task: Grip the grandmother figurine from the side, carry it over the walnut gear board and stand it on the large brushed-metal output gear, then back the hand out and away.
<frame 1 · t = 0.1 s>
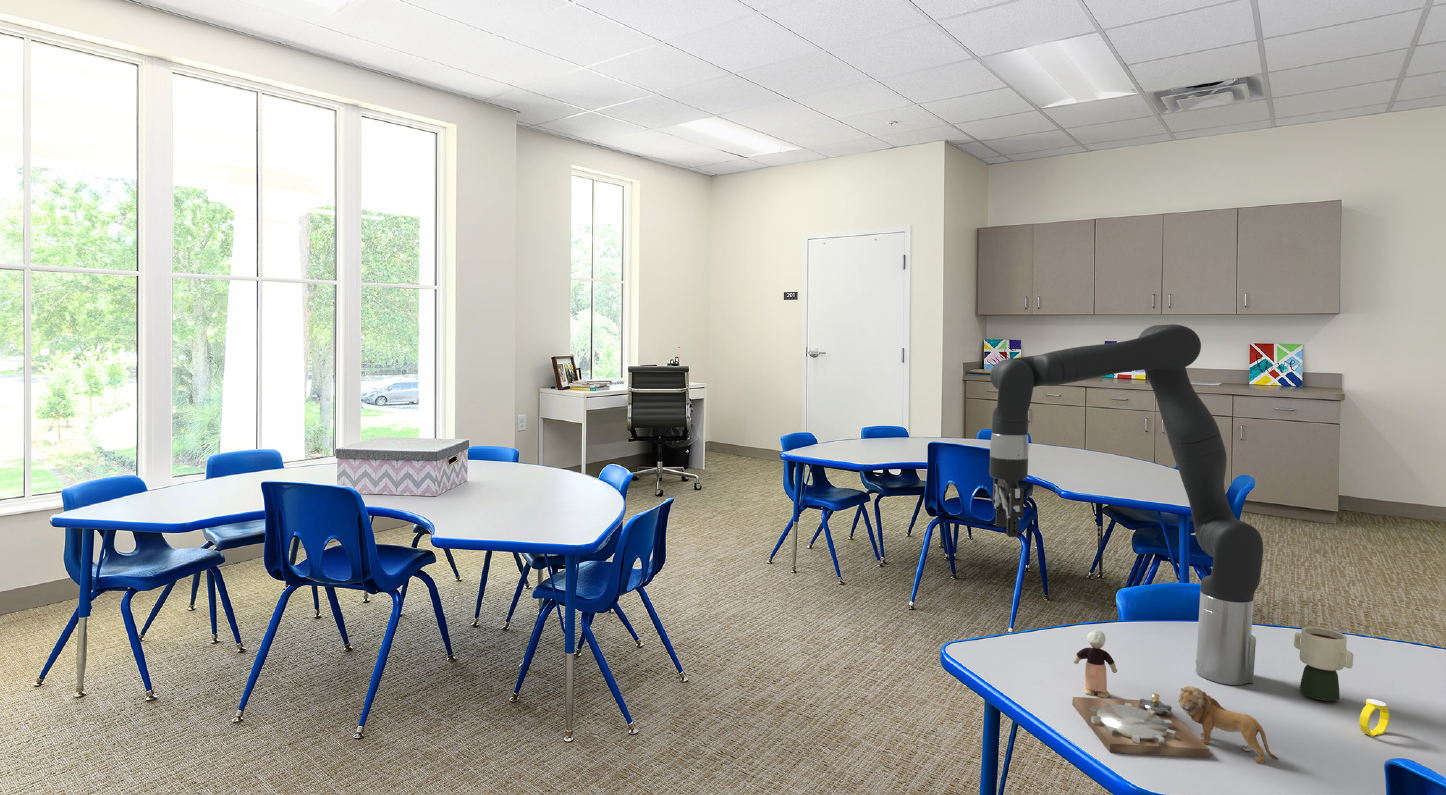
hand: (1006, 531, 161), 29 cm above the table, tool pointing down, fingers open, 8 cm apart
watch: (1373, 735, 136), on the table
output gear: (1131, 733, 136), resting on gear board
gear board: (1136, 729, 137), on the table
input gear: (1154, 718, 141), resting on gear board
grandmother figurine: (1093, 694, 151), on the table
lion figurine: (1221, 748, 131), on the table
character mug: (1319, 698, 150), on the table
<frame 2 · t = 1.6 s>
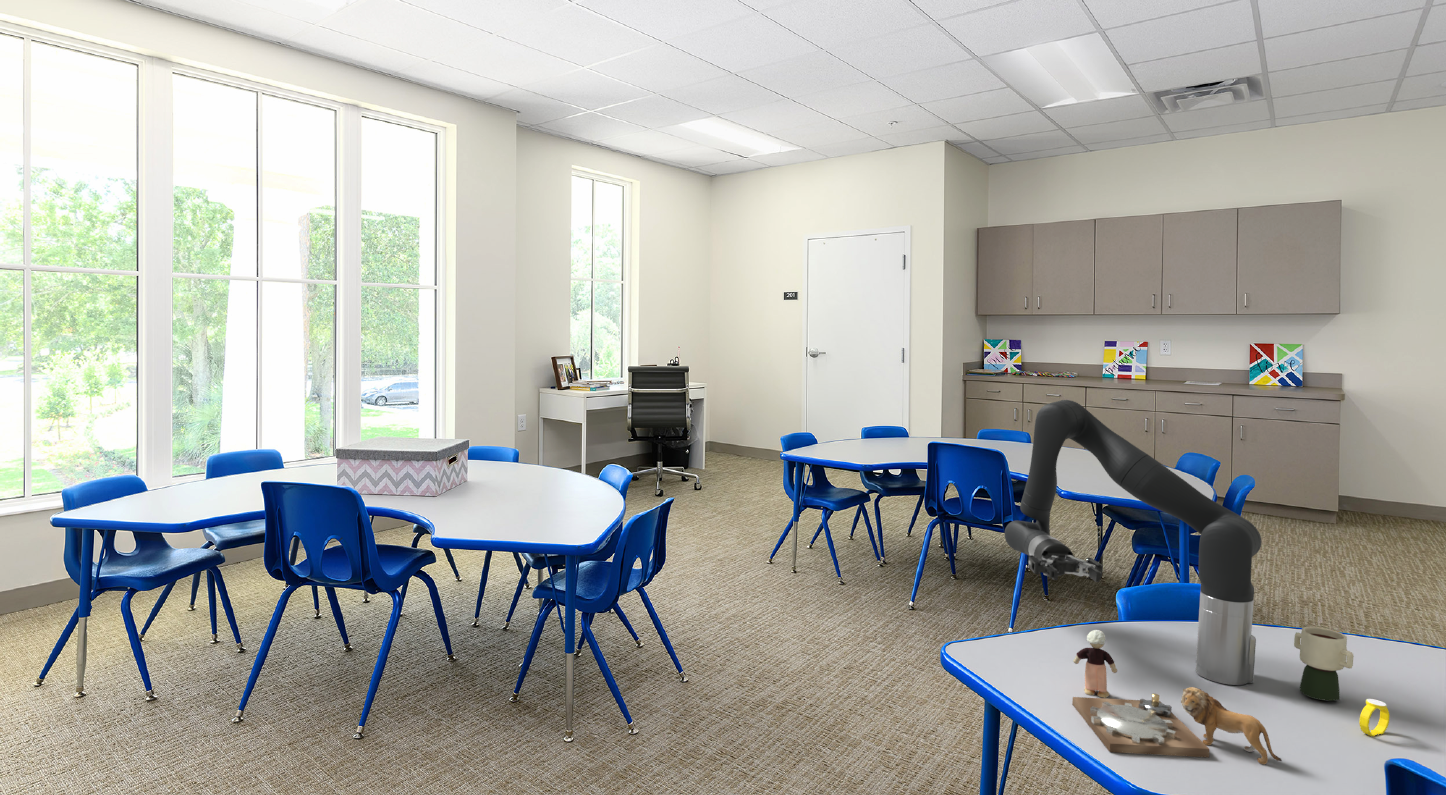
hand: (1077, 576, 160), 20 cm above the table, tool horizontal, fingers open, 8 cm apart
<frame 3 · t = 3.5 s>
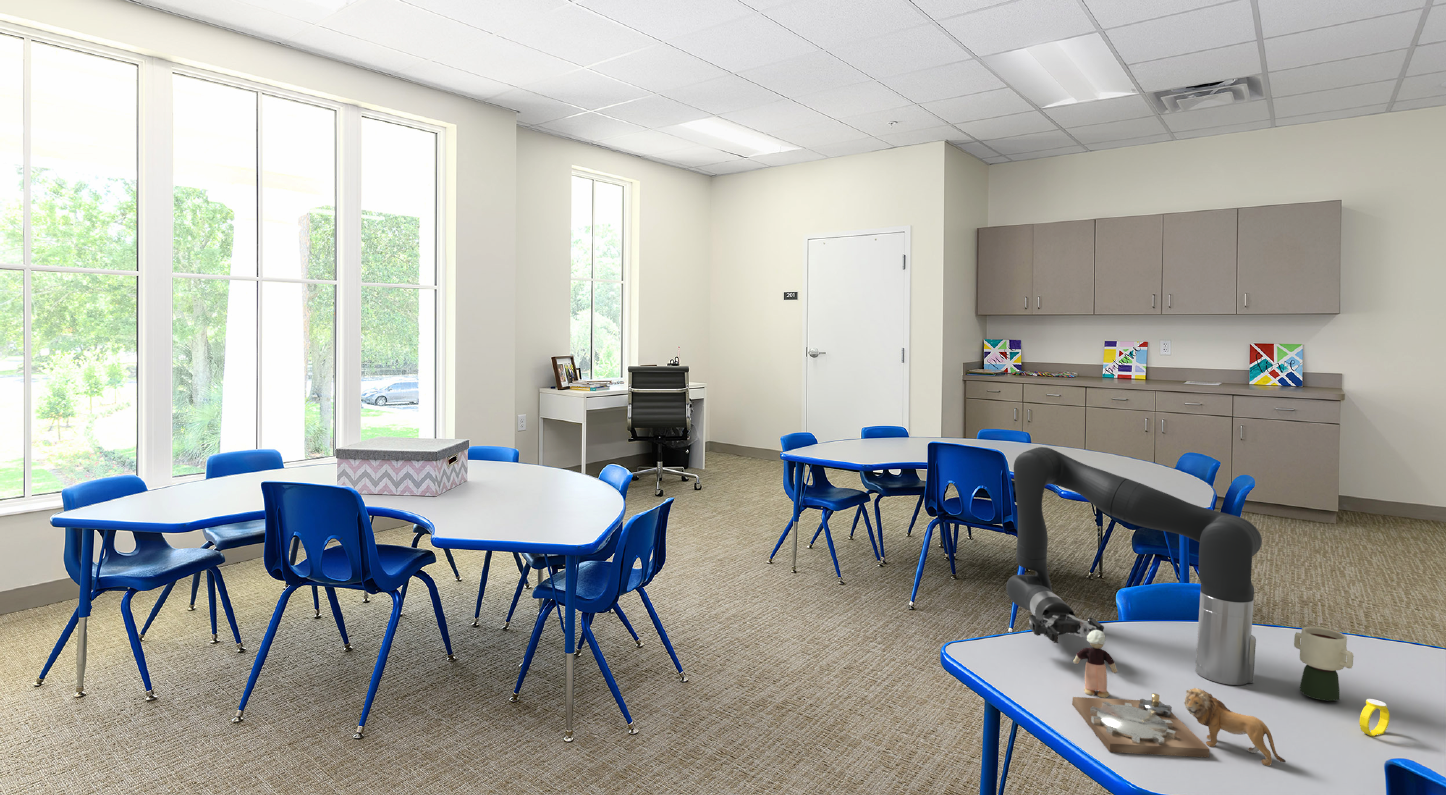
hand: (1077, 639, 159), 7 cm above the table, tool horizontal, fingers open, 8 cm apart
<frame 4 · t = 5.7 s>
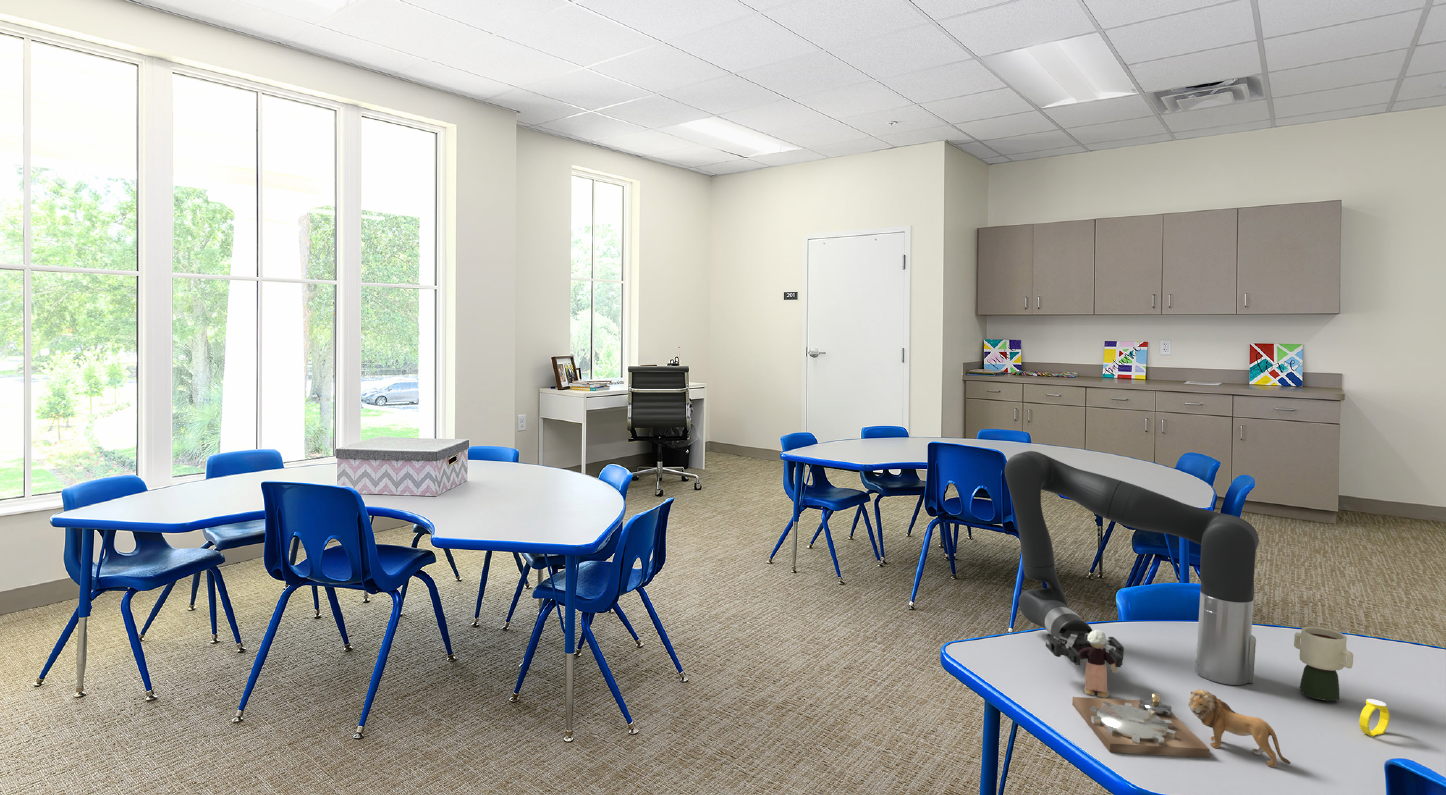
hand: (1099, 661, 148), 7 cm above the table, tool horizontal, fingers closed on grandmother figurine, 7 cm apart
grandmother figurine: (1093, 693, 151), on the table, touching gripper
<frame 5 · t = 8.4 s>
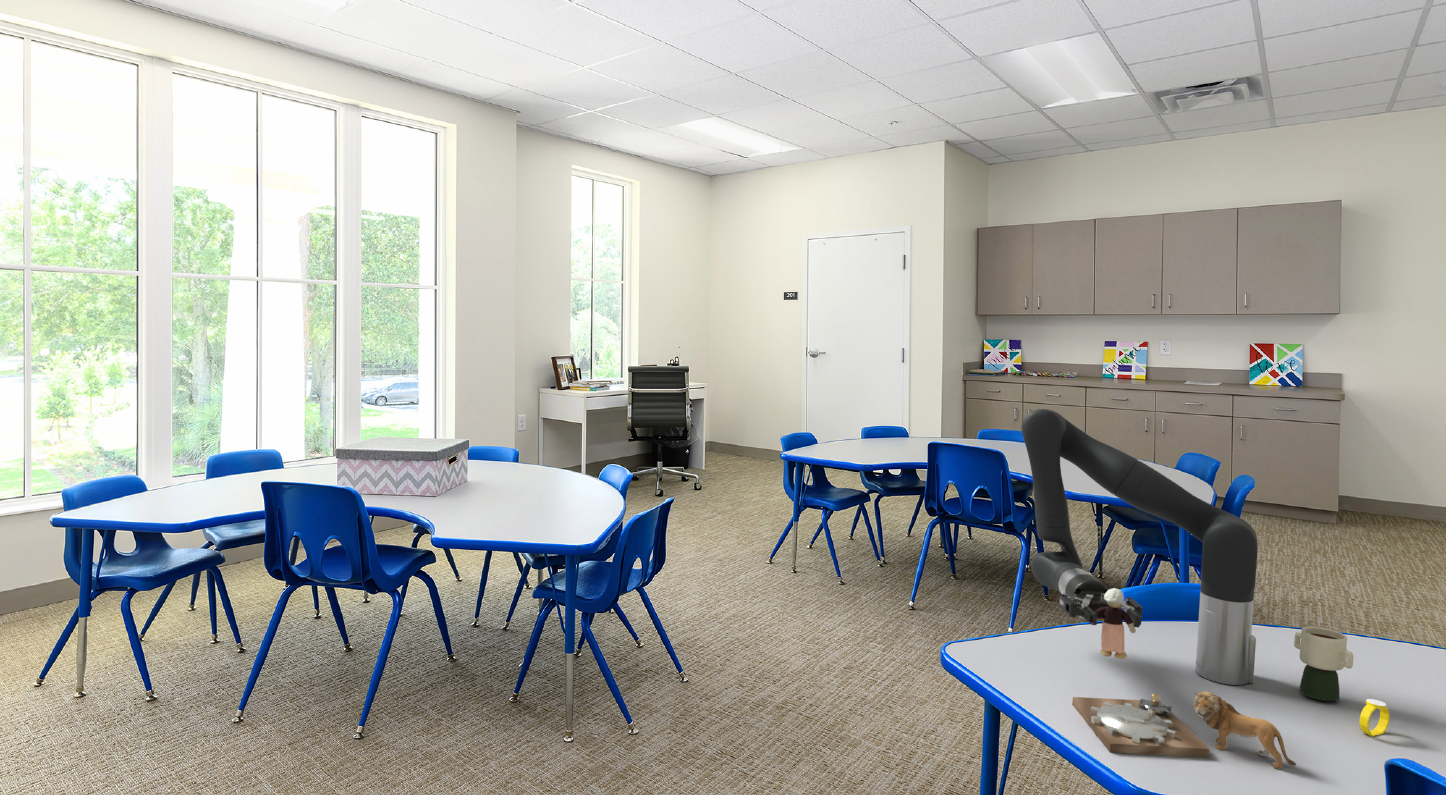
hand: (1116, 621, 141), 18 cm above the table, tool horizontal, fingers closed on grandmother figurine, 7 cm apart
grandmother figurine: (1109, 655, 144), point 10 cm above the table, touching gripper
when the fingers open (11 cm above the table, at t = 11.0 s): grandmother figurine drops 1 cm, resting on output gear.
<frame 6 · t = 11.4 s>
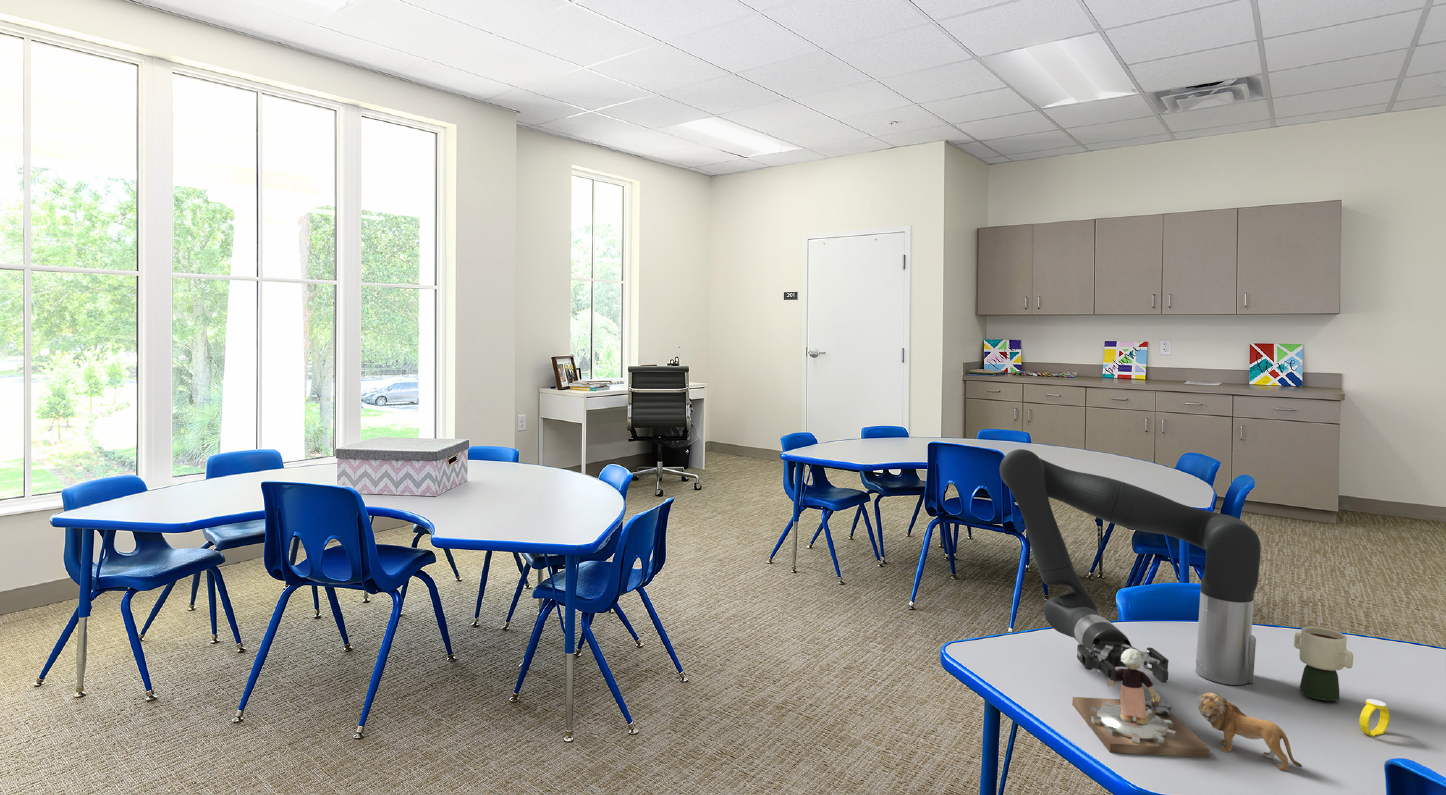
hand: (1139, 676, 133), 11 cm above the table, tool horizontal, fingers open, 8 cm apart
grandmother figurine: (1130, 719, 135), point 2 cm above the table, touching output gear
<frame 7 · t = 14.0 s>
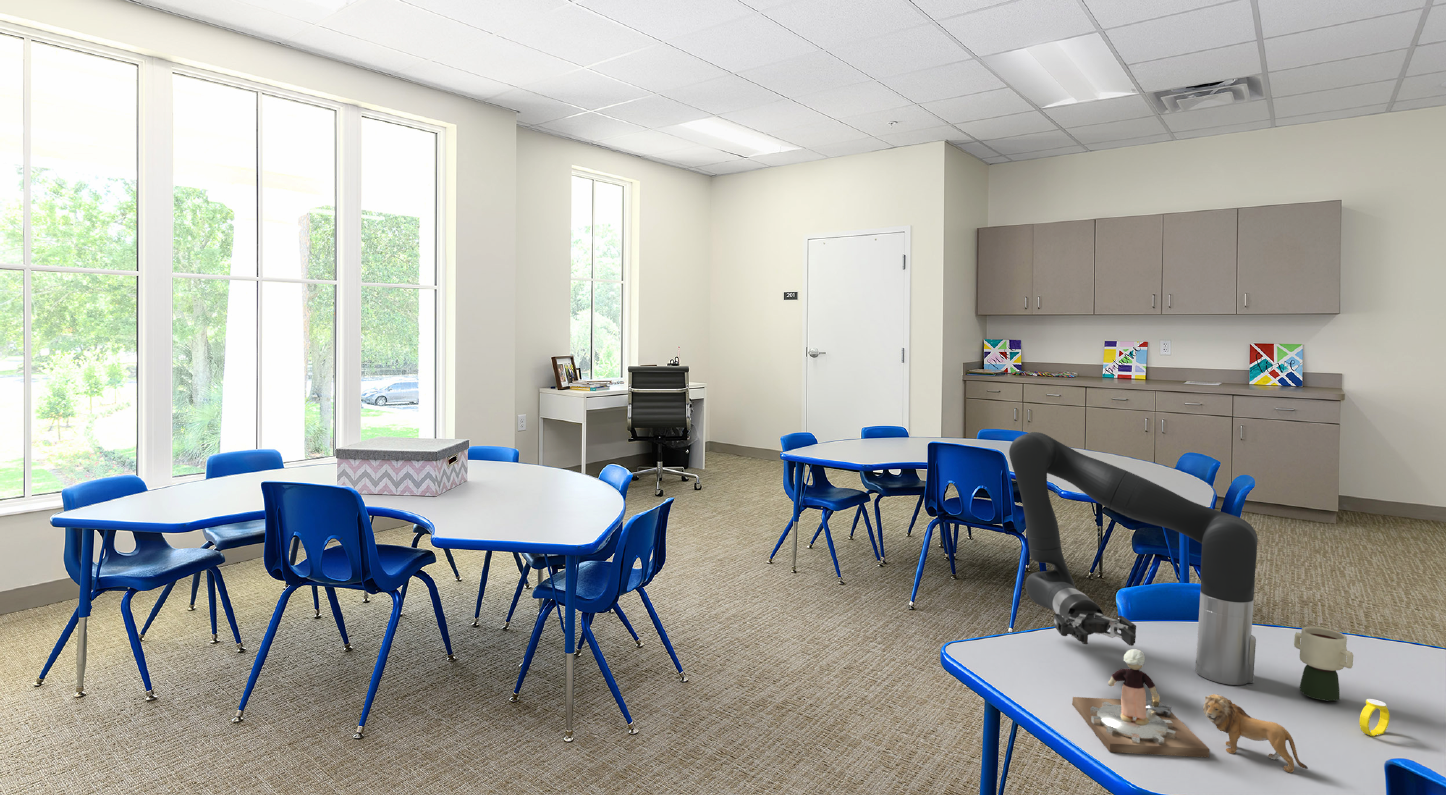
hand: (1109, 640, 146), 12 cm above the table, tool horizontal, fingers open, 8 cm apart
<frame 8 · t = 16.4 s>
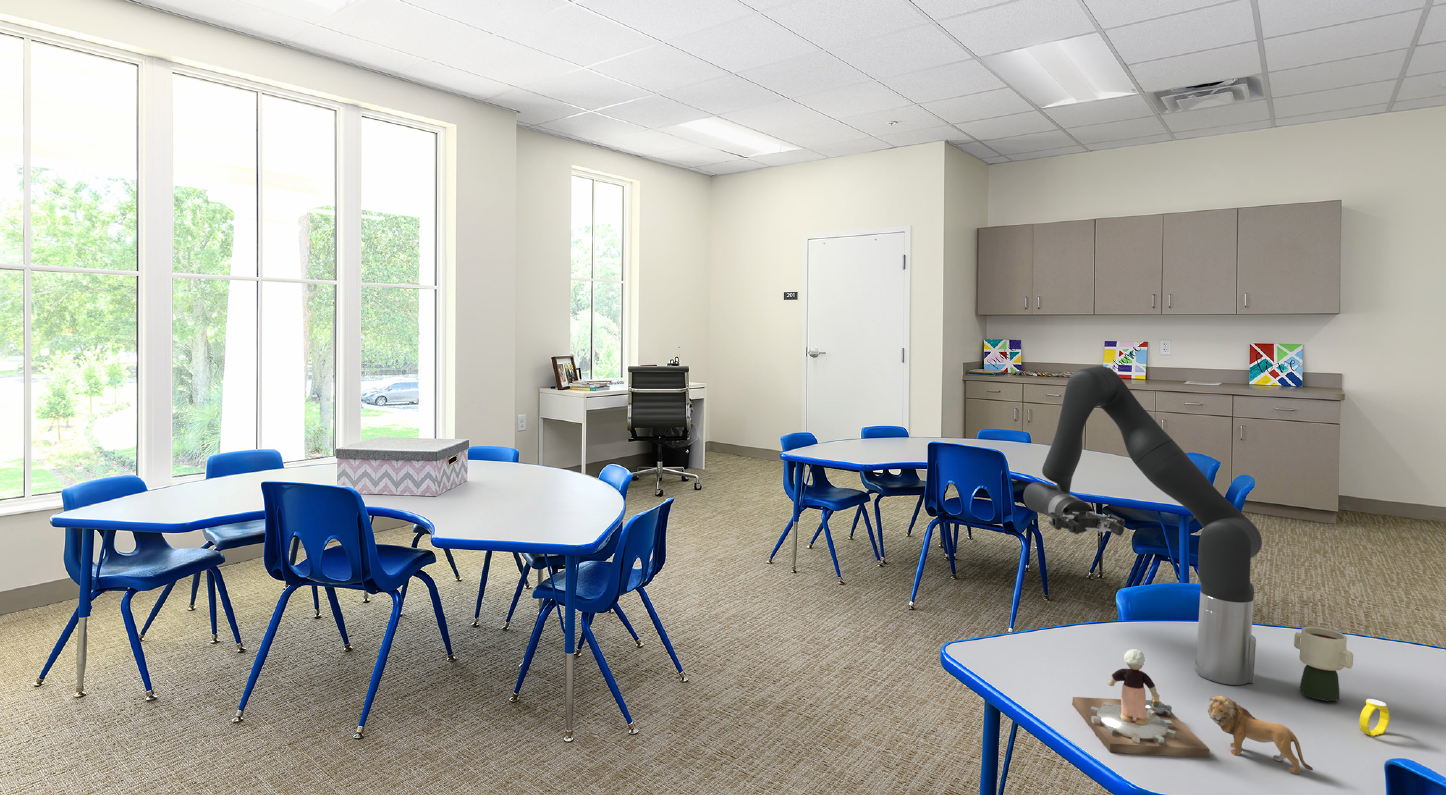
hand: (1099, 530, 159), 30 cm above the table, tool horizontal, fingers open, 8 cm apart
at the end: grandmother figurine inside the target area on the output gear (0.1 cm from its centre), point 2.3 cm above the output gear's base; grandmother figurine tilted 0°; the gripper is holding nothing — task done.
